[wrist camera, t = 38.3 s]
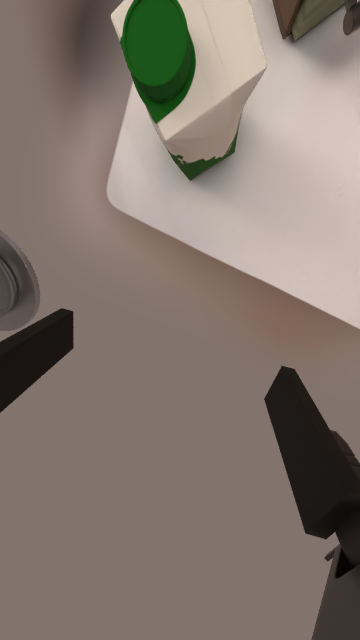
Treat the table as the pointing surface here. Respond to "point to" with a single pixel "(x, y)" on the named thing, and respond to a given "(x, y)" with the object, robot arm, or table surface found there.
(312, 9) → the drawer
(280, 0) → the cabinet
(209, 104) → the soya milk
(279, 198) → the table surface
